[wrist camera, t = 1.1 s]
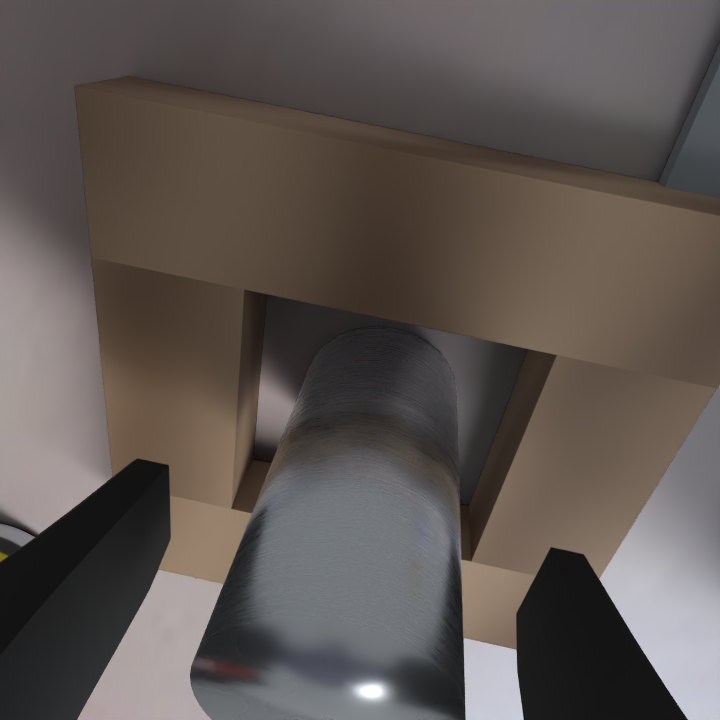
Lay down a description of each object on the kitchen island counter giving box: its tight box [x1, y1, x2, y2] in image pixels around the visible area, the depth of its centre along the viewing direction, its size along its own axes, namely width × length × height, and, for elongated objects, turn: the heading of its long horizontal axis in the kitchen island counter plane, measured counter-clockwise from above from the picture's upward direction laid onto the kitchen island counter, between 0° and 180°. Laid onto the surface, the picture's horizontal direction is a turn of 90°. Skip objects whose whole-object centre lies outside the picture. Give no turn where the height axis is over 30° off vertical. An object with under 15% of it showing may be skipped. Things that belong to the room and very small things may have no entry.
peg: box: [190, 327, 465, 720], centre depth 12 cm, size 4×4×8 cm
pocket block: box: [75, 76, 720, 650], centre depth 14 cm, size 13×13×2 cm
